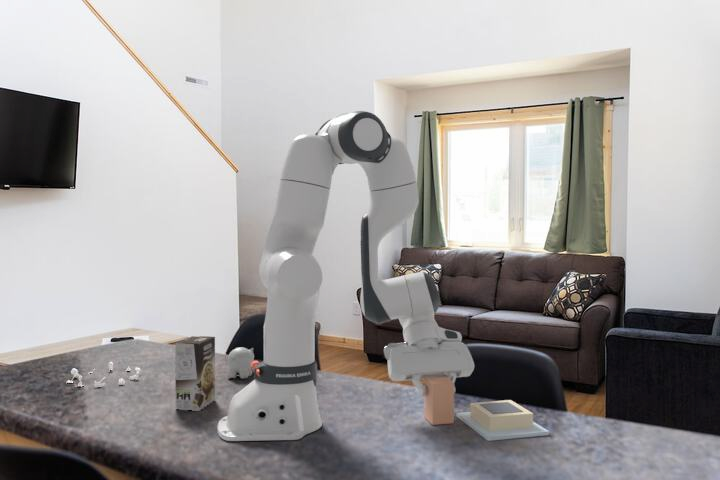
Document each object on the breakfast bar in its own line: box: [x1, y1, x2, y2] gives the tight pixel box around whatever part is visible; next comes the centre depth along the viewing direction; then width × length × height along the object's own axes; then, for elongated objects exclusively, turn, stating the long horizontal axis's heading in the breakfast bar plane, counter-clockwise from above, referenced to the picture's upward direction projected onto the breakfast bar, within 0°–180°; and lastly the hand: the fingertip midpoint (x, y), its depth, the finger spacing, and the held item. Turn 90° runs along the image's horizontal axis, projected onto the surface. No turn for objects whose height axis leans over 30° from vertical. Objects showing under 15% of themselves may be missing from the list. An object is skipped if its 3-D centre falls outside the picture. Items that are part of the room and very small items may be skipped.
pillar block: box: [424, 377, 455, 426], centre depth 138 cm, size 5×5×9 cm
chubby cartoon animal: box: [226, 346, 255, 380], centre depth 178 cm, size 7×12×8 cm, turn 166°
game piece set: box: [66, 361, 141, 387], centre depth 174 cm, size 19×20×4 cm
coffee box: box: [174, 335, 216, 412], centre depth 150 cm, size 9×6×16 cm
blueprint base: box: [456, 399, 550, 442], centre depth 136 cm, size 14×16×4 cm
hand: (438, 393), depth 139 cm, fingers closed on pillar block, 5 cm apart
